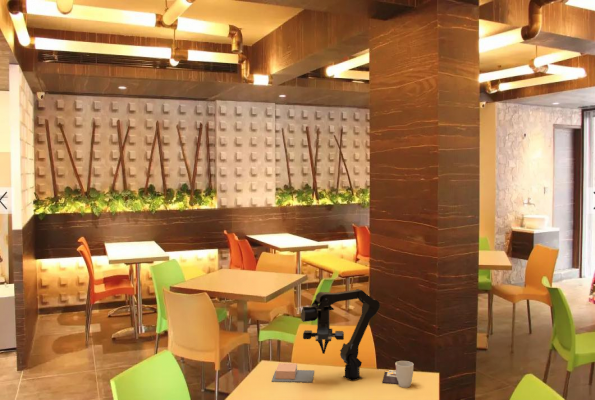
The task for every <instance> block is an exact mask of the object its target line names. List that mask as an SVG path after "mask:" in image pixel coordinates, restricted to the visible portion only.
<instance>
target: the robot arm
mask: <svg viewBox="0 0 595 400" xmlns="http://www.w3.org/2000/svg"><path fill="white" fill-rule="evenodd" d="M357 299H358V300H359V302H361V303H362V306H361V315H360V317H359V320H358V322H357V324H356V326H355V328H354V331H353V332H352V335H351V336H350V339H349V341H348V342H347V343H343V344H342V347H341V349H340V350H339V351H340V354H339V355H340V358H341V360H343V363H344V364H345V368H344V375H343V378H344V379H347V380H350V381H355V380H359V379H362V378H363V377H362V376H361V375H360V372H361V371H360V368H361V366H362V363H363V362H362V361H361V360H360V359H359V358H358V355H359V346H360V344H361V341H362V339H363V337H364V335H365V333H366V330H367V328H368V326H369V324H370V321H371V319H372V318H373V317H374V316H375V315H377V313H378V311H379V310H380V308H381V304H380V302H379V300H377V299H375V298H373V297H371V296H370V295H369V294H367V293H366V292H365V291H364V290H363V289H359V288H356V289H352V290H345V291H340V292H330V291H329V292H328V291H319V292H318V293H317V294H316V295H315V299H314V300H313V302H312V303H311V305H310V306H302V309H301V311H300V319H301V321H302V322H303V323H305V322H315V321H316V322H317V323H316V325H317V326H316V327H317V328H316V332H313V330H304V331H303V332H302V339H303V340H310V339H312V338H315V342H318V344H319V346H320V349H321V352H322V355H323V354H325V353H326V350H327V347H328V345H329V342H331V341H332V340H333V339H332V338H335V340H337V341H341V340H342V341H343V340H344V339H345V333H344V331H343V330H335V331H334V332H333V328H331V327H330V326H331V325H330V323H331V321H330V320H331V319H330V314H331V313H330V312H331V311H334V310H335V308H334V307H333V306H332V305H334V304H335V303H338V302H343V301H351V300H357ZM323 340H324V341H323Z"/></svg>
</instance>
